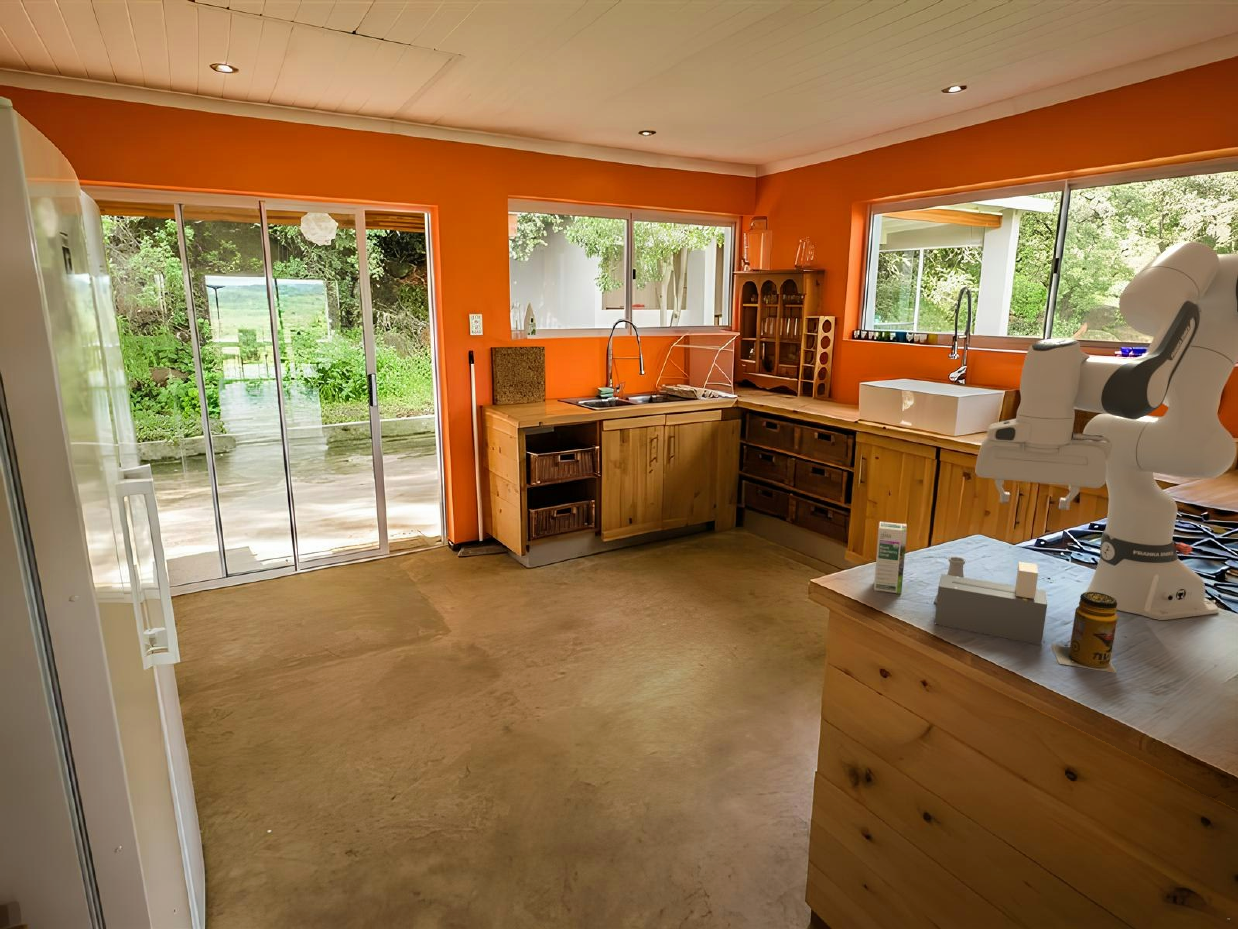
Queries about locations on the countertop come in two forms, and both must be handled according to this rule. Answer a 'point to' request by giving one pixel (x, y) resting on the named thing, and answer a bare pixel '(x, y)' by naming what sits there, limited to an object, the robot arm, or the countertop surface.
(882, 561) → the syrup box
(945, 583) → the console
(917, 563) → the countertop surface
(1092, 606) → the condiment
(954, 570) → the flask
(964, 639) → the countertop surface
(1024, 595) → the fader
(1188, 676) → the countertop surface
